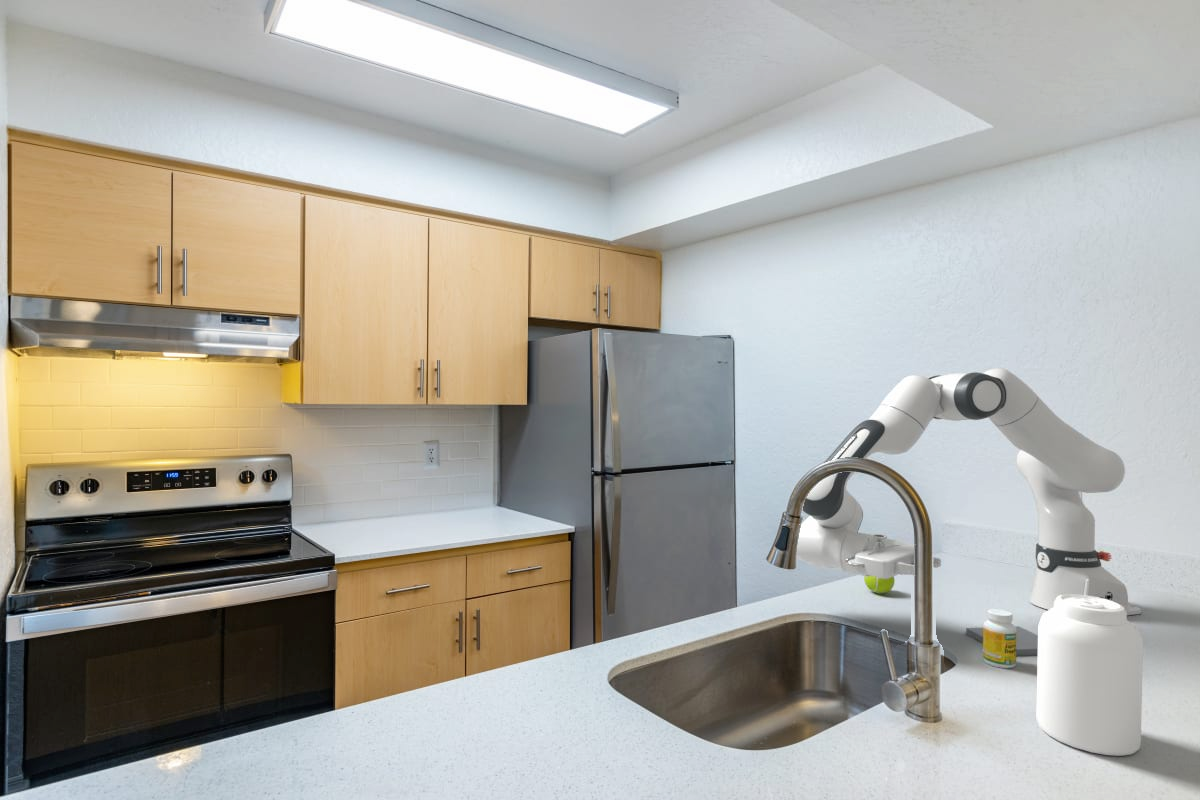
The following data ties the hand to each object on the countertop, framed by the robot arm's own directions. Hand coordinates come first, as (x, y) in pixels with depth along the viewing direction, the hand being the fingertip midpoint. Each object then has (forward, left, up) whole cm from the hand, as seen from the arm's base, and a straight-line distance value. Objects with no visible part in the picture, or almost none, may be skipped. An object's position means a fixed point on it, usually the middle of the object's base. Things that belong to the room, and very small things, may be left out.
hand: (931, 567), depth 134 cm
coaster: (-18, 0, -16) cm, 24 cm away
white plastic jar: (-2, +35, -16) cm, 39 cm away
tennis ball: (-9, -35, -16) cm, 39 cm away
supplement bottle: (-8, +9, -16) cm, 20 cm away
